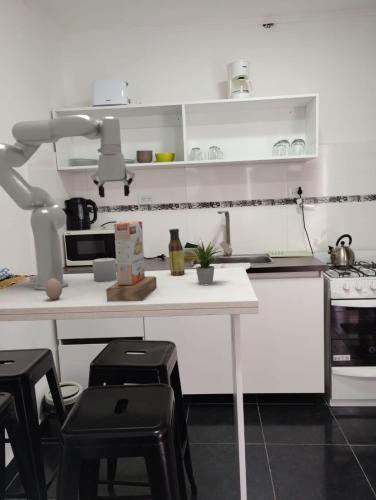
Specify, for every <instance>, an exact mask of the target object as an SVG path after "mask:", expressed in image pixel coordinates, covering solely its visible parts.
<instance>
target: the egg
mask: <svg viewBox="0 0 376 500" xmlns="http://www.w3.org/2000/svg"><path fill="white" fill-rule="evenodd" d="M45 294H46V296H47V297H48V299H50V300H53V301H56V300H58V299H59V298H60V296H61V295H62V294H63V287H61V284H60V282H59V281H58V280H57V279H54V278H52V279H50V280H49V281H48V282H47V285H46V290H45Z"/></svg>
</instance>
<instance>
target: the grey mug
mask: <svg viewBox="0 0 376 500" xmlns="http://www.w3.org/2000/svg"><path fill="white" fill-rule="evenodd" d="M92 271H93V272H92V273H93V281H94V282H95V283H105V282H106V283H108V282H113V281H117V264H116V258H113V257H111V258H110V257H106V258H105V257H103V258H96V259H94V260H92Z"/></svg>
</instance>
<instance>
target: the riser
mask: <svg viewBox="0 0 376 500" xmlns="http://www.w3.org/2000/svg"><path fill="white" fill-rule="evenodd" d="M157 287H158V285H157V276H149V275H148V276H145V278H143V279H142V280H140V281H139V282H137V283H136V284H134V285H118V282H115V283H113V284H111V285H110V286H109V287H107V288H106V289H105V291H106V301H107V302H135V301H136V302H141V301H142V302H143V301H144V300H145V299H146V298H147V297H148V296H149V295H150V294H152V292H154V291H155V290H156V289H157Z"/></svg>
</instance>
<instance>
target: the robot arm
mask: <svg viewBox="0 0 376 500" xmlns="http://www.w3.org/2000/svg"><path fill="white" fill-rule="evenodd" d="M120 125H121V124H120V119H119V118H118V117H116V116H111V115H110V116H108V115H107V116H102V117H100V119H95V118H93V117H92V116H89V115H85V114H73V115H72V114H70V115H62V116H59V117H55V118H52V119H51V118H50V119H37V120H25V121H24V120H23V121H19V122H16V123H15V124H13V126H12V129H11V135H12V137H13V139H14V140H15V141H16V142H14V144H13V145H11V144H8V143H3V142H0V187H1V188H2V190H4V191H5V193H6V194H7V195H8V196H9V198H10V199H12V201H13V202H14V203H15V204H16V205H17V206H18V207H19V208H20V209H21V210H23V211H33V212H32V213H31V215H30V227H31V230H32V234H33V235H32V236H33V240H34V249H35V259H36V260H35V261H36V269H37V270H36V271H37V272H36V273H37V276H31V277H30V278H29V283H35V285H34V289H35V290H39V291H46V285H47V282H48V281H49V280H50V279H52V278H54V279H57V280H58V281H59V282H60V284H61V287H62V288H65V287H68V285H69V282H68V281H65V280H64V272H63V262H62V261H63V259H62V257H63V256H62V248H61V247H62V246H61V239H60V235H59V232H58V231H59V230H60V229H62V228H63V227H65V225H66V223H67V214H66V213H65V211H64V209H63V208H62V207H61V206H60V205H59V204H58V203H57V201H56V200H55V199H54V198H53V197H52V196H51V194H49V193H48V191H47V190H45V189H43V188H42V187H39V186H33V185H30V184H29V182H27V180H25V178H24V177H23V175H21V174H20V172H18V171H17V170H16V169H14V168H21V167H23V166H24V165H26V163H27V162H28V161H29V160H30V159H31V157H32V156H33V155H34V154H35V153H37V151H38V150H39V149H40V147H41V146H42V144H50V143H51V144H52V143H53V144H54V143H57V142H59V141H60V139H63V138H70V137H83V138H86V139H88V140H90V141H91V140H92V141H93V140H100V148H98V149H97V153H100V154H99V156H98V163H97V169H98V170H97V171H96V172H95V173H93V174H91V176H90V178H91V180H92V182H93V183H94V185H96V187H98V188H97V189H98V196H99V198H105V197H106V196H105V195H106V194H105V187H104V186H105V183H107V182H109V183H111V182H122V183H123V184H124V185H123V194H124V197H129V196H130V193H131V192H130V186H131V184H132V183H133V182H134V179H135V177H136V173H135V172H133V171H131V170H129V169H127V165H126V159H125V156H124V153H122V141H121V139H122V138H121V137H122V136H121V126H120ZM128 175H129V176H130V177H129V178H128ZM97 179H98V180H97Z"/></svg>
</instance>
